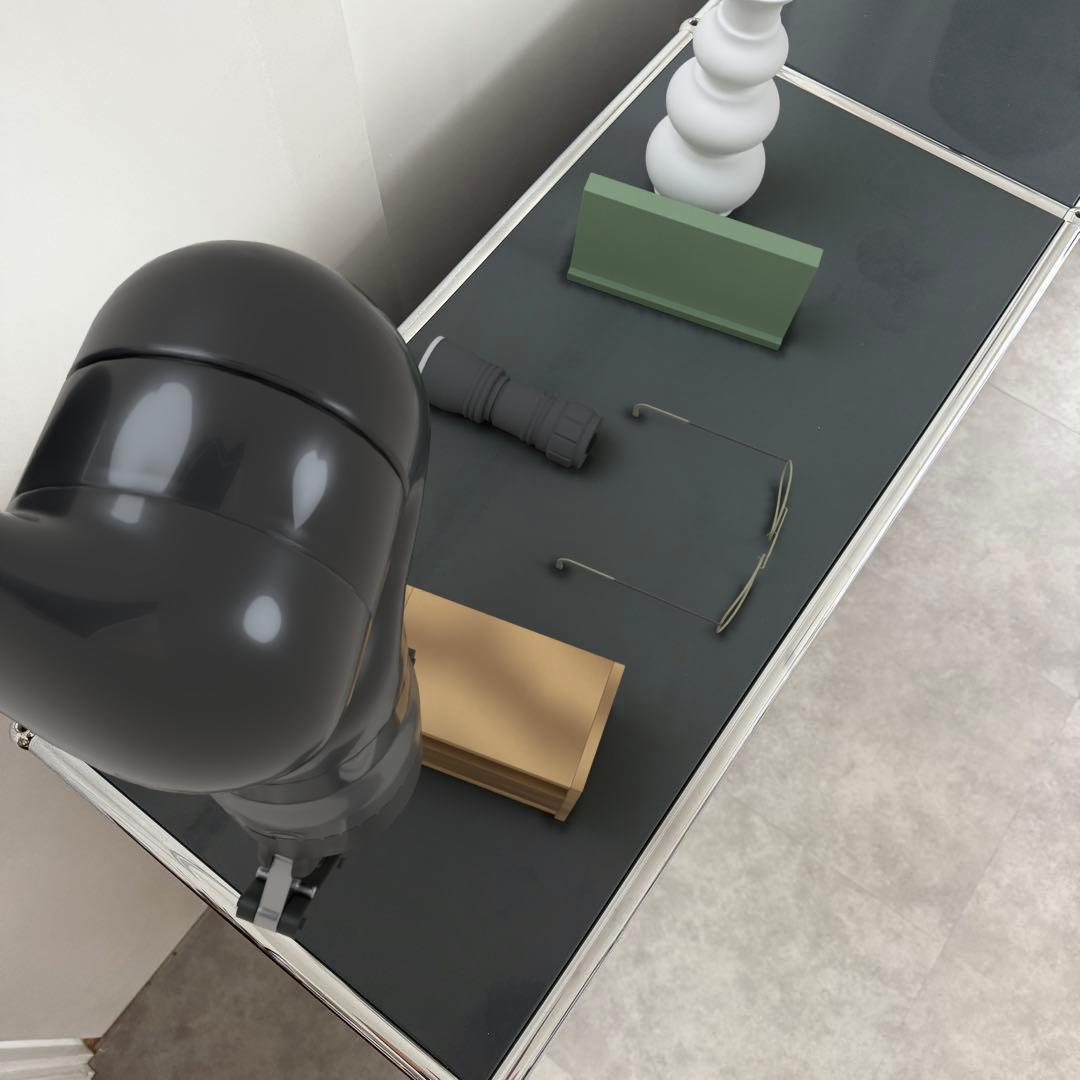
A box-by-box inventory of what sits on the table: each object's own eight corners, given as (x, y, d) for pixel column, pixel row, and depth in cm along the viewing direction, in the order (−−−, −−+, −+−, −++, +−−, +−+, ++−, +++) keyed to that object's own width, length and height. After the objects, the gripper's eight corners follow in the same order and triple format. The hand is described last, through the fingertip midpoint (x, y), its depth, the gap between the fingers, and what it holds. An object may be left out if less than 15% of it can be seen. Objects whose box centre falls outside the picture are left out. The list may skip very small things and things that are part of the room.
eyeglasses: (727, 646, 86) (743, 625, 82) (554, 568, 88) (561, 542, 83) (793, 484, 93) (811, 456, 88) (631, 413, 94) (641, 382, 90)
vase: (653, 246, 102) (715, 20, 79) (625, 155, 106) (676, -84, 83) (765, 233, 104) (857, 8, 81) (733, 144, 108) (812, -94, 85)
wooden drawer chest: (563, 824, 80) (581, 795, 70) (358, 746, 81) (347, 706, 71) (603, 708, 84) (625, 665, 74) (406, 635, 85) (402, 582, 75)
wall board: (777, 351, 98) (816, 274, 88) (566, 279, 99) (580, 195, 89) (790, 308, 100) (830, 228, 90) (583, 238, 101) (599, 152, 91)
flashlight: (603, 434, 93) (613, 401, 88) (577, 484, 91) (585, 454, 86) (442, 359, 95) (443, 323, 90) (412, 407, 93) (411, 373, 88)
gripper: (287, 518, 40) (330, 663, 55) (107, 877, 34) (211, 925, 50) (483, 588, 39) (470, 714, 55) (332, 963, 34) (365, 984, 50)
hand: (347, 815), depth 52 cm, fingers closed
